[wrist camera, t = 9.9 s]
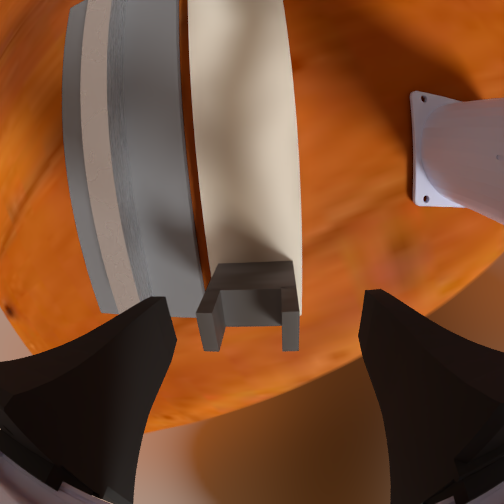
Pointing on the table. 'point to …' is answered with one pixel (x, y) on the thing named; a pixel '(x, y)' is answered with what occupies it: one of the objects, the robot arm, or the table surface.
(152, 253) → the mat
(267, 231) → the hook stand
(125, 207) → the rail
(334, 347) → the table surface
